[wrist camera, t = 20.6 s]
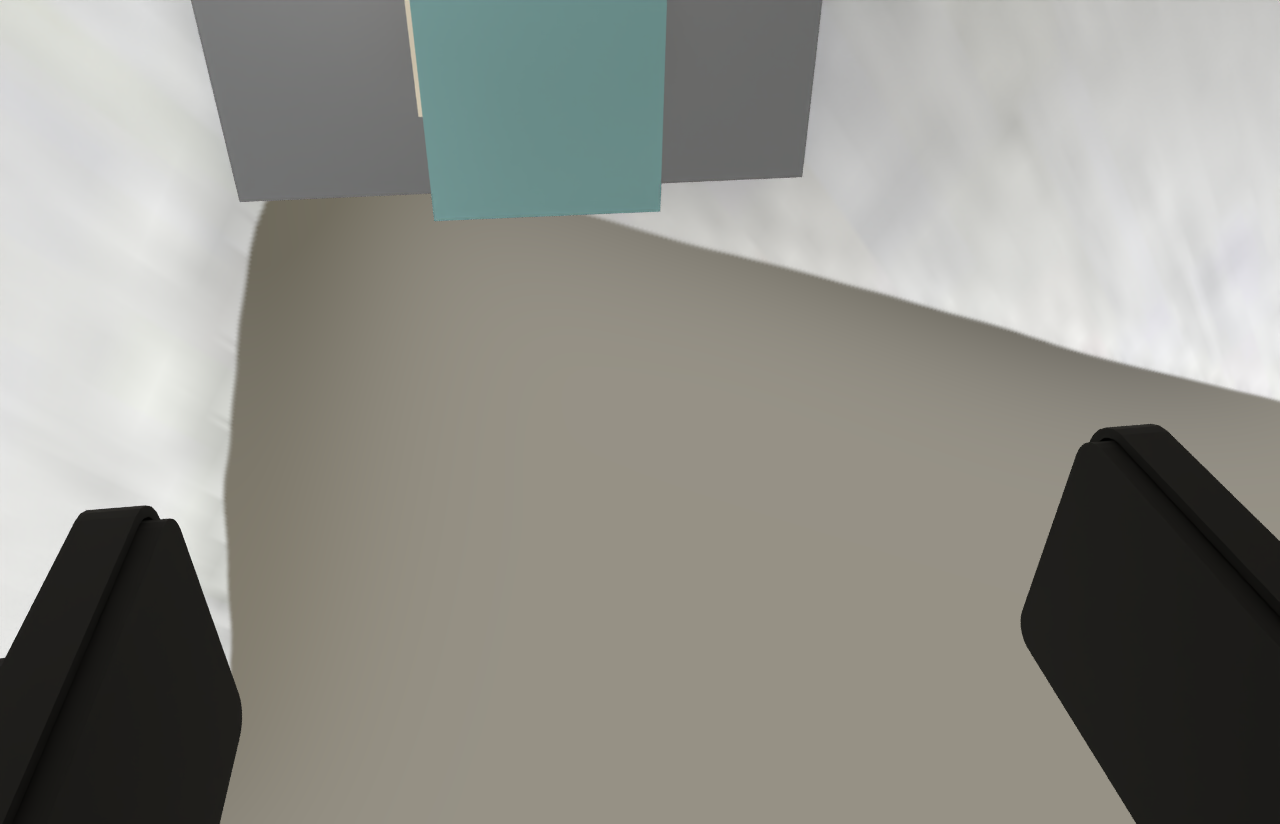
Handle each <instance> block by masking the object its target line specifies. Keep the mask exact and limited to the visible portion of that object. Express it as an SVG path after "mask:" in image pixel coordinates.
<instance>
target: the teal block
mask: <svg viewBox="0 0 1280 824" xmlns="http://www.w3.org/2000/svg"><path fill="white" fill-rule="evenodd" d="M409 1H410V10H411V18H412V27H413V36H414V45H415V54H416V63H417V72H418V81H419V89H420V98H421V107H422V116H423V125H424V134H425V143H426V152H427V160H428V169H429V178H430V187H431V196H432V204H433V214H434V221H444V220H468V219H491V218H492V219H493V218H515V217H538V216H564V215H587V214H611V213H635V212H659V211H660V201H661V170H662V139H663V108H664V77H665V46H666V15H667V0H409Z"/></svg>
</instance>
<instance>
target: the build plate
mask: <svg viewBox="0 0 1280 824" xmlns="http://www.w3.org/2000/svg"><path fill="white" fill-rule="evenodd" d="M191 2H192V6H193V10H194V15H195V19H196V23H197V27H198V31H199V35H200V39H201V44H202V48H203V52H204V56H205V60H206V64H207V68H208V73H209V77H210V81H211V85H212V89H213V93H214V97H215V102H216V106H217V110H218V114H219V118H220V122H221V126H222V130H223V135H224V139H225V143H226V147H227V151H228V155H229V159H230V164H231V168H232V172H233V176H234V180H235V184H236V188H237V193H238V197H239V201H240V202H249V201H272V200H293V199H317V198H340V197H362V196H384V195H407V194H429V193H431V187H430V178H429V169H428V160H427V152H426V143H425V134H424V125H423V116H422V107H421V98H420V89H419V81H418V72H417V63H416V54H415V45H414V36H413V27H412V18H411V10H410V1H409V0H191ZM821 6H822V0H667V15H666V46H665V77H664V108H663V139H662V170H661V183H678V182H700V181H723V180H745V179H768V178H790V177H802V173H803V164H804V156H805V147H806V138H807V129H808V120H809V112H810V103H811V94H812V85H813V76H814V68H815V59H816V50H817V41H818V33H819V24H820V15H821Z"/></svg>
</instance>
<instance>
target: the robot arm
mask: <svg viewBox="0 0 1280 824" xmlns="http://www.w3.org/2000/svg"><path fill="white" fill-rule="evenodd" d="M1021 630H1022V635H1023V639H1024V641H1025V644H1026V646H1027V648H1028V649H1029V651H1030V652H1031V654H1032V656H1033V657H1034V659H1035V661H1036V662H1037V664H1038V665H1039V667H1040V669H1041V670H1042V672H1043V674H1044V675H1045V677H1046V678H1047V680H1048V682H1049V683H1050V685H1051V687H1052V688H1053V690H1054V691H1055V693H1056V695H1057V696H1058V698H1059V699H1060V701H1061V703H1062V704H1063V706H1064V708H1065V709H1066V711H1067V712H1068V714H1069V716H1070V717H1071V718H1072V720H1073V722H1074V724H1075V725H1076V727H1077V729H1078V730H1079V732H1080V733H1081V735H1082V737H1083V738H1084V740H1085V741H1086V743H1087V745H1088V746H1089V748H1090V750H1091V751H1092V753H1093V754H1094V756H1095V758H1096V759H1097V761H1098V763H1099V764H1100V766H1101V767H1102V769H1103V770H1104V772H1105V774H1106V775H1107V777H1108V779H1109V780H1110V782H1111V783H1112V785H1113V787H1114V788H1115V790H1116V792H1117V793H1118V795H1119V796H1120V798H1121V799H1122V801H1123V803H1124V804H1125V806H1126V808H1127V809H1128V811H1129V812H1130V814H1131V815H1132V817H1133V819H1134V821H1135V822H1136V824H1280V541H1279V540H1278V539H1277V538H1276V537H1275V536H1274V535H1273V534H1272V533H1271V532H1270V531H1269V530H1268V529H1267V528H1266V527H1265V526H1264V525H1263V524H1262V523H1260V521H1259V520H1257V519H1256V518H1255V517H1254V516H1253V515H1252V514H1251V513H1250V512H1249V511H1248V510H1247V509H1246V508H1245V507H1244V506H1243V505H1242V504H1241V503H1240V502H1239V501H1238V500H1237V499H1236V498H1235V497H1234V496H1233V495H1232V494H1231V493H1230V492H1229V491H1228V490H1227V489H1226V488H1225V487H1224V486H1223V485H1222V484H1221V483H1220V482H1219V481H1218V480H1217V479H1216V478H1215V477H1214V476H1213V475H1212V474H1211V473H1210V472H1209V471H1208V470H1207V469H1206V468H1205V467H1203V466H1202V465H1201V464H1200V463H1199V462H1198V461H1197V460H1196V459H1195V458H1194V457H1193V456H1192V455H1191V454H1190V453H1189V452H1188V451H1187V450H1186V449H1185V448H1184V447H1183V446H1182V445H1181V444H1180V443H1179V442H1178V441H1177V440H1176V439H1175V438H1174V437H1173V436H1172V435H1171V434H1170V433H1169V432H1168V431H1166V430H1165V429H1164V428H1162V427H1161V426H1159V425H1154V424H1145V425H1132V426H1121V427H1109V428H1103V429H1100V430H1098V431H1097V432H1096V433H1095V434H1094V435H1093V436H1092V438H1091V440H1090V442H1089V443H1085V444H1084V445H1082V446H1081V447H1080V449H1079V450H1078V452H1077V454H1076V457H1075V460H1074V463H1073V466H1072V469H1071V472H1070V475H1069V478H1068V481H1067V483H1066V486H1065V489H1064V492H1063V495H1062V498H1061V501H1060V504H1059V506H1058V509H1057V512H1056V515H1055V518H1054V521H1053V524H1052V527H1051V529H1050V532H1049V536H1048V538H1047V541H1046V544H1045V547H1044V550H1043V553H1042V555H1041V558H1040V561H1039V564H1038V567H1037V570H1036V573H1035V576H1034V578H1033V582H1032V584H1031V587H1030V590H1029V593H1028V596H1027V599H1026V602H1025V604H1024V608H1023V610H1022V614H1021ZM241 725H242V708H241V700H240V697H239V693H238V690H237V688H236V685H235V682H234V679H233V676H232V673H231V671H230V668H229V665H228V662H227V659H226V656H225V654H224V651H223V648H222V645H221V642H220V639H219V637H218V634H217V631H216V628H215V625H214V622H213V620H212V617H211V614H210V611H209V608H208V606H207V603H206V600H205V597H204V594H203V591H202V589H201V586H200V583H199V580H198V577H197V574H196V572H195V569H194V566H193V563H192V560H191V557H190V555H189V552H188V549H187V546H186V543H185V540H184V538H183V535H182V532H181V529H180V527H179V525H178V523H177V522H176V521H175V520H174V519H160V518H159V516H158V514H157V512H156V511H155V510H154V509H153V508H152V507H151V506H133V507H121V508H109V509H96V510H86V511H84V512H83V513H81V514H80V515H79V516H78V518H77V519H76V521H75V522H74V524H73V526H72V528H71V530H70V532H69V534H68V536H67V538H66V540H65V542H64V544H63V546H62V548H61V550H60V552H59V554H58V555H57V557H56V559H55V561H54V563H53V565H52V567H51V569H50V571H49V573H48V575H47V577H46V579H45V581H44V583H43V585H42V587H41V589H40V591H39V593H38V595H37V597H36V599H35V601H34V603H33V604H32V606H31V608H30V610H29V612H28V614H27V616H26V618H25V620H24V622H23V624H22V626H21V628H20V630H19V632H18V634H17V636H16V638H15V640H14V642H13V644H12V646H11V648H10V650H9V651H8V653H7V655H6V657H5V658H0V824H220V820H221V815H222V811H223V807H224V803H225V798H226V794H227V790H228V785H229V781H230V777H231V772H232V768H233V764H234V759H235V755H236V751H237V746H238V742H239V737H240V733H241Z"/></svg>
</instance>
